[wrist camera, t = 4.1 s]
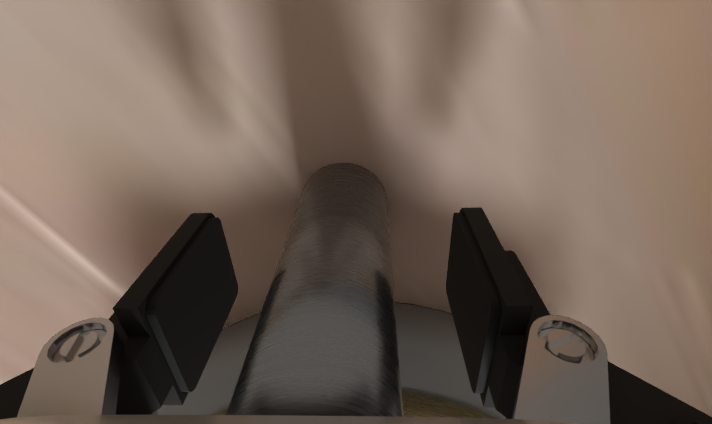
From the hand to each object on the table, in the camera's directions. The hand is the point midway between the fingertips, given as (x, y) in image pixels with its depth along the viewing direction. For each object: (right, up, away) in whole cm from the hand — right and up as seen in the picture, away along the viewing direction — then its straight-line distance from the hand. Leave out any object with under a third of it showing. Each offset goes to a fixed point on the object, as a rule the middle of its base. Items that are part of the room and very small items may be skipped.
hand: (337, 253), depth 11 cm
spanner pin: (0, +2, +3) cm, 3 cm away
